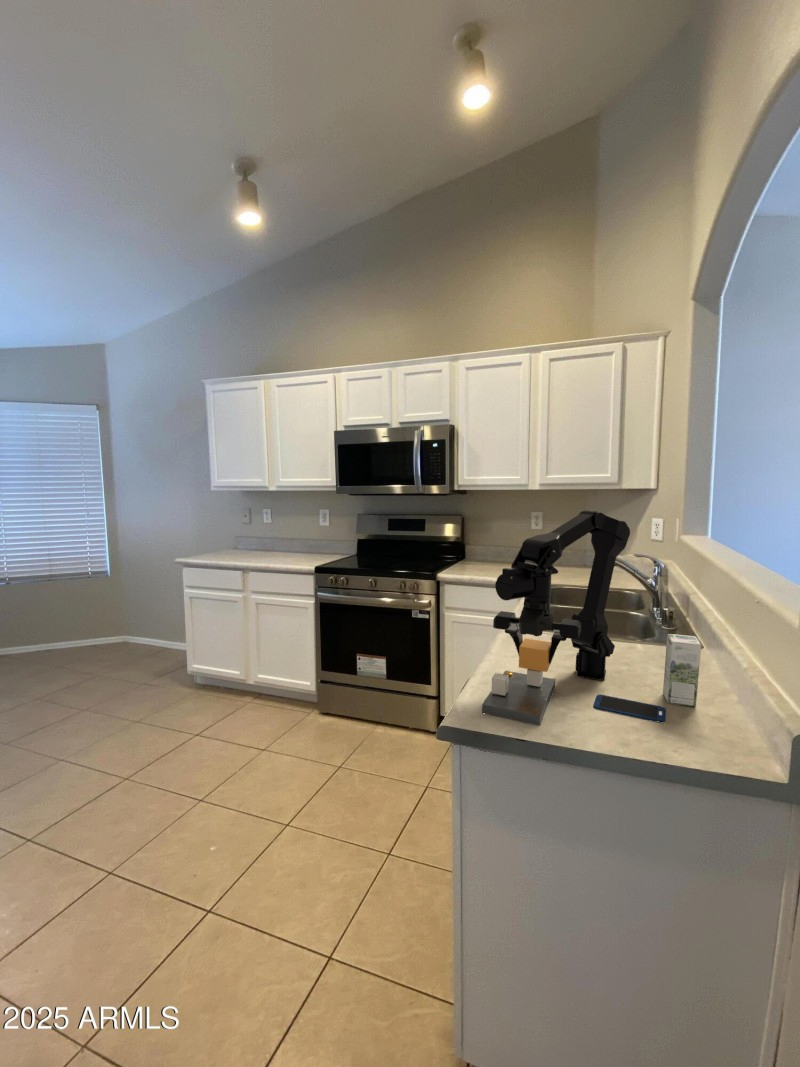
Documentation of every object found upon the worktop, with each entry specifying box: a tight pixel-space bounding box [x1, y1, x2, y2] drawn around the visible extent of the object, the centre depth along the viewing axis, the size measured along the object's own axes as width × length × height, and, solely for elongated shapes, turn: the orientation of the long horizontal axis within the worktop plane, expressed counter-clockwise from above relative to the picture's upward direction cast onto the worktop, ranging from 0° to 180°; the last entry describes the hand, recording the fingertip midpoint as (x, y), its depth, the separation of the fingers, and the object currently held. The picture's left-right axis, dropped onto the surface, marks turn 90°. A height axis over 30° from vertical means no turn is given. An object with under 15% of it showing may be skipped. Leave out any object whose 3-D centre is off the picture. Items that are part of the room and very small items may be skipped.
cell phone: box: [592, 694, 667, 723], centre depth 108 cm, size 7×14×1 cm, turn 61°
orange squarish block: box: [518, 637, 551, 673], centre depth 114 cm, size 6×6×5 cm
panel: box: [481, 670, 556, 726], centre depth 112 cm, size 12×20×2 cm, turn 154°
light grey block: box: [526, 669, 544, 687], centre depth 115 cm, size 3×3×4 cm
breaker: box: [490, 672, 509, 696], centre depth 110 cm, size 3×3×4 cm
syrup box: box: [662, 633, 702, 707], centre depth 111 cm, size 6×6×14 cm
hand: (535, 660), depth 115 cm, fingers closed on orange squarish block, 6 cm apart
